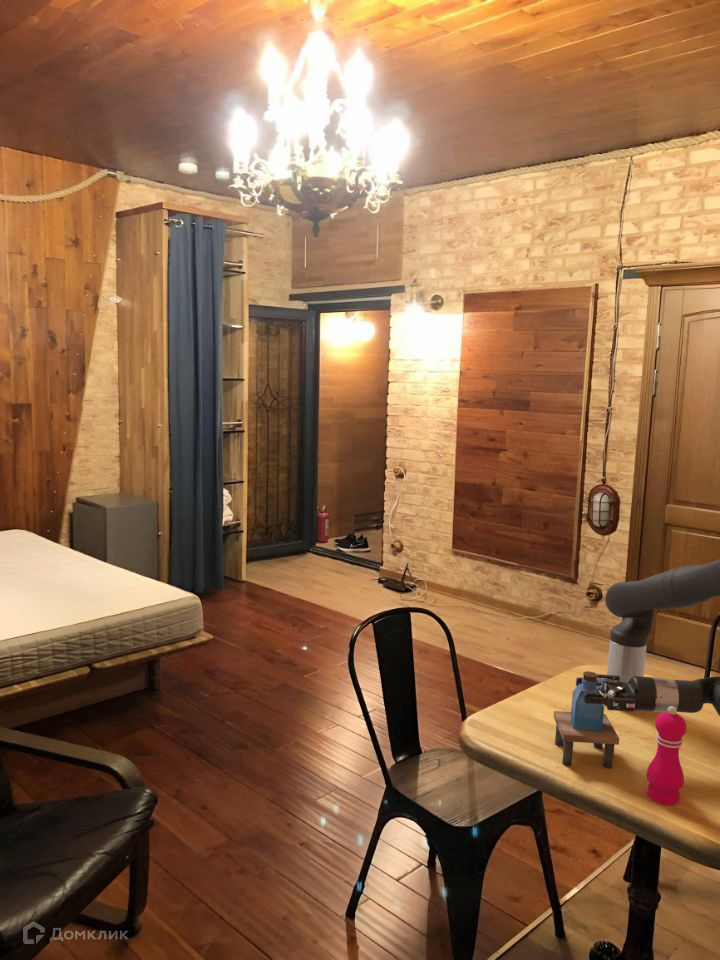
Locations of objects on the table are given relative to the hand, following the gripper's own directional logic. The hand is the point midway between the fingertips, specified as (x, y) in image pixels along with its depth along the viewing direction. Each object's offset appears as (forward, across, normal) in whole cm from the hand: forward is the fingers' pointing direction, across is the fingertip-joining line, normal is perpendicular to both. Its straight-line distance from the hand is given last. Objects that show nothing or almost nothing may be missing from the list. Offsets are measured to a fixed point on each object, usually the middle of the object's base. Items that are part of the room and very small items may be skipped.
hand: (580, 690), depth 177 cm
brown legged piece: (-2, 0, +16) cm, 16 cm away
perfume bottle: (-2, 0, +8) cm, 9 cm away
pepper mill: (-15, +16, +16) cm, 27 cm away
